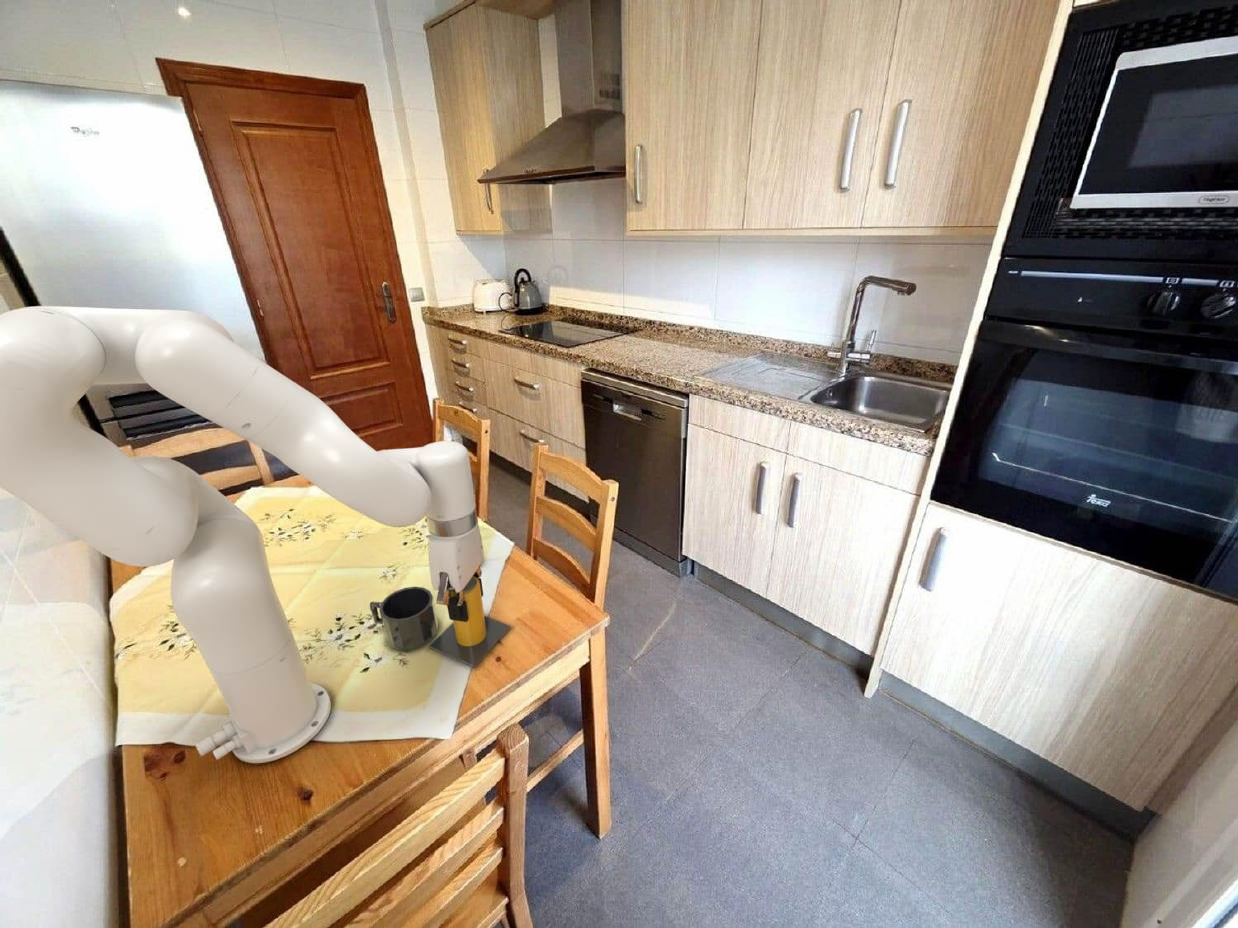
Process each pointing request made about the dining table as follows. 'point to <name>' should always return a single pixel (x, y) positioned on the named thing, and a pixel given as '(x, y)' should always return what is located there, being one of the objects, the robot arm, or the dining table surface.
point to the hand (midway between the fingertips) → (467, 606)
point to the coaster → (470, 653)
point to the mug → (407, 618)
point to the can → (471, 616)
